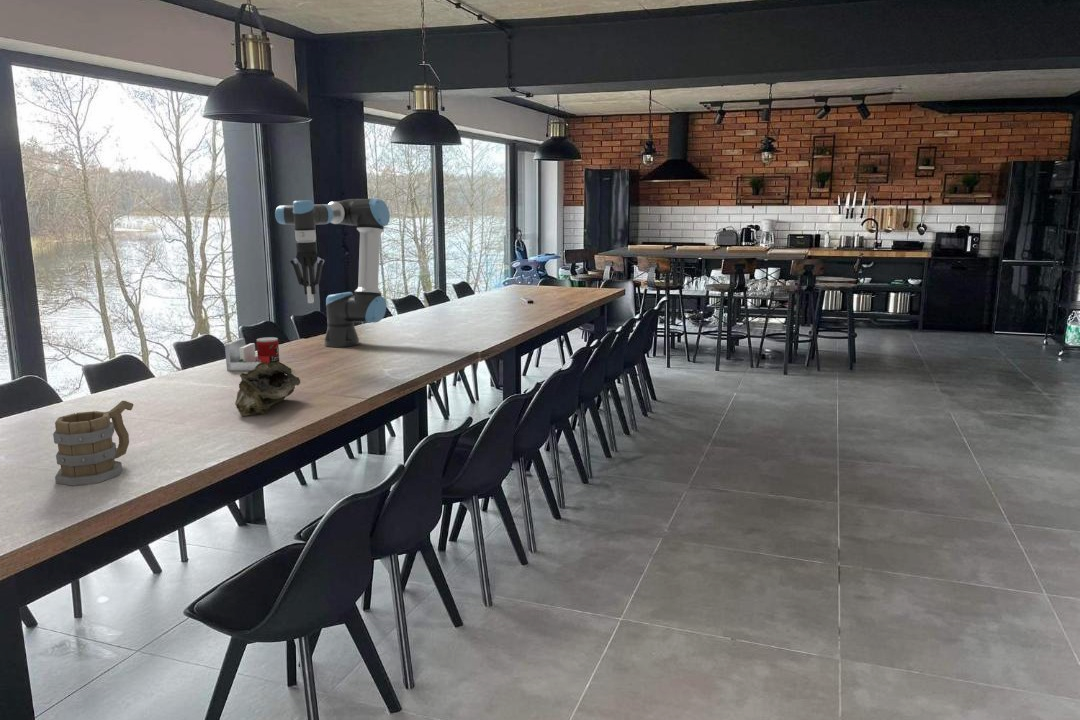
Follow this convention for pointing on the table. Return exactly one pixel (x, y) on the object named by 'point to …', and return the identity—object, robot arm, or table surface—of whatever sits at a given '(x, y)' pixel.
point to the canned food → (268, 349)
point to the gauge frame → (237, 356)
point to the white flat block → (247, 353)
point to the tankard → (90, 445)
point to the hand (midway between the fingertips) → (311, 302)
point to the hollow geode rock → (264, 387)
